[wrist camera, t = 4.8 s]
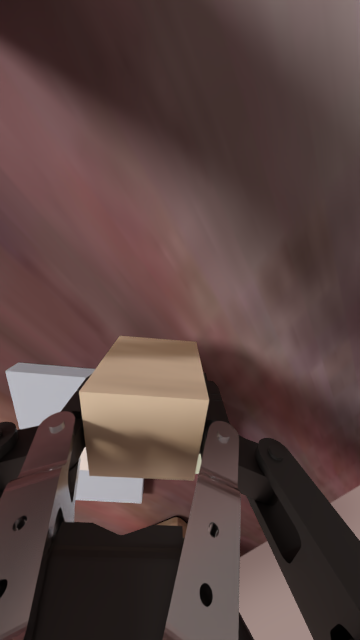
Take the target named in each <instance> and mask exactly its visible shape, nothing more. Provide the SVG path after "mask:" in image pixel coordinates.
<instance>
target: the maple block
mask: <svg viewBox="0 0 360 640" xmlns="http://www.w3.org/2000/svg"><path fill="white" fill-rule="evenodd" d="M79 396H80V404H81V412H82V420H83V428H84V437H85V445H86V453H87V461H88V469H89V476H104V477H126V478H148V479H171V480H193V481H194V477H195V471H196V466H197V461H198V456H199V451H200V446H201V440H202V435H203V430H204V425H205V420H206V414H207V409H208V404H209V397H208V392H207V388H206V383H205V379H204V374H203V370H202V365H201V361H200V356H199V352H198V347H197V343H196V342H190V341H178V340H165V339H153V338H140V337H128V336H119V338H118V339H117V340H116V342H115V343H114V345H113V346H112V347H111V349H110V350H109V351H108V353H107V354H106V355H105V357H104V358H103V360H102V361H101V362H100V364H99V365H98V366H97V368H96V369H95V370H94V372H93V373H92V375H91V376H90V377H89V379H88V380H87V381H86V383H85V384H84V385H83V387H82V388H81V390H80V391H79Z"/></svg>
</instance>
